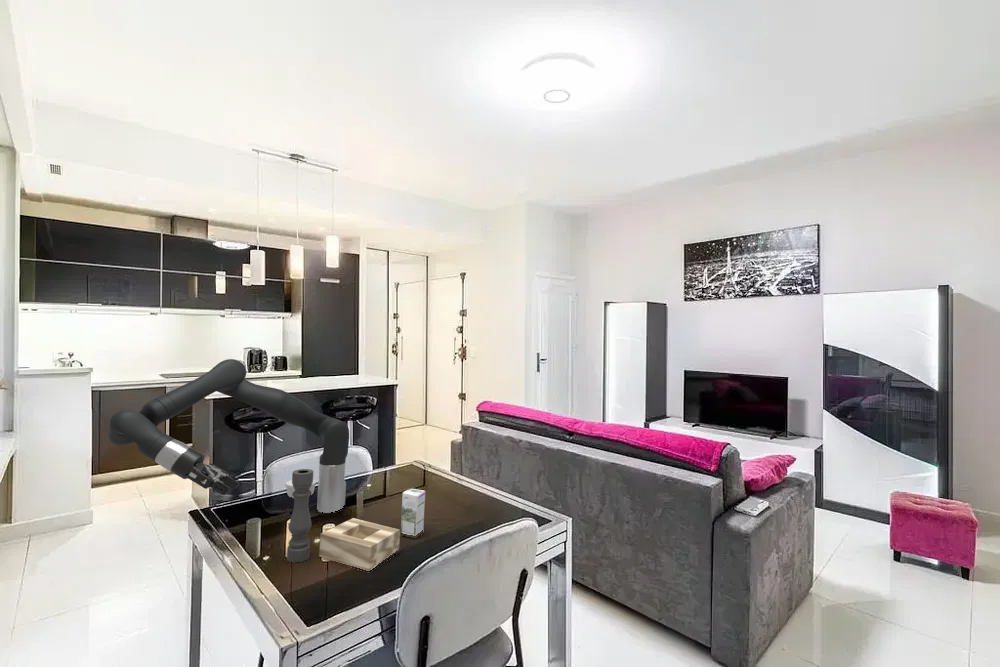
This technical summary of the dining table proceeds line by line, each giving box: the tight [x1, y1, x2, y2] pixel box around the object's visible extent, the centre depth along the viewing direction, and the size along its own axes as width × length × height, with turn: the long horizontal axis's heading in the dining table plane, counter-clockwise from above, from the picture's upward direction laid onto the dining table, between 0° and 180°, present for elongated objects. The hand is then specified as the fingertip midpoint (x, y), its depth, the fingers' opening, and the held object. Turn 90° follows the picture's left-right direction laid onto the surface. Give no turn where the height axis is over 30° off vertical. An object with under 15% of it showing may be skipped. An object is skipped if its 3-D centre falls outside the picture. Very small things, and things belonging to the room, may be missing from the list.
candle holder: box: [286, 468, 314, 564], centre depth 138 cm, size 6×6×25 cm
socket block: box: [318, 517, 401, 571], centre depth 141 cm, size 14×18×7 cm
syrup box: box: [400, 488, 426, 536], centre depth 158 cm, size 6×6×14 cm
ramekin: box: [285, 478, 317, 499], centre depth 191 cm, size 11×11×5 cm
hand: (232, 489), depth 133 cm, fingers open, 8 cm apart
